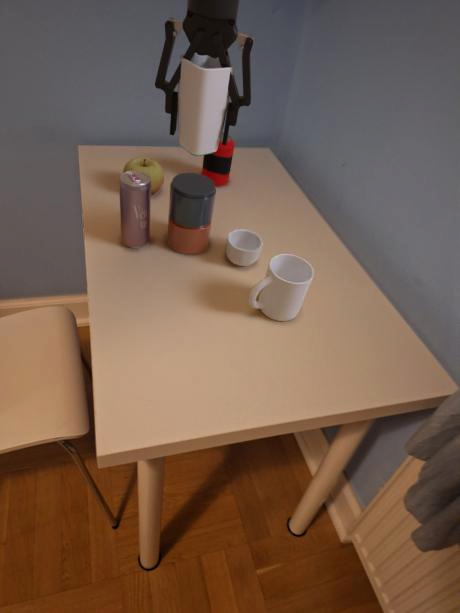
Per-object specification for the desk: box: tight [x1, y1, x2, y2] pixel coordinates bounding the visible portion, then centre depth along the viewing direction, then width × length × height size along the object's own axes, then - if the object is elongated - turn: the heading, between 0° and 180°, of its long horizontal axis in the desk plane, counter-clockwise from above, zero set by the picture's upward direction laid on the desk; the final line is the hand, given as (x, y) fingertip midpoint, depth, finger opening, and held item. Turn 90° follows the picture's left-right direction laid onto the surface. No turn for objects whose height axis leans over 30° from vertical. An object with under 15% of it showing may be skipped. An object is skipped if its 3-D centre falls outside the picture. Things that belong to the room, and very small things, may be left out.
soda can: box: [201, 132, 236, 187], centre depth 108 cm, size 8×8×12 cm
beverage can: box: [118, 171, 152, 249], centre depth 83 cm, size 6×6×15 cm
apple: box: [122, 157, 165, 195], centre depth 100 cm, size 10×10×8 cm
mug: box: [248, 253, 315, 322], centre depth 76 cm, size 12×8×10 cm
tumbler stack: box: [166, 172, 217, 256], centre depth 86 cm, size 9×9×14 cm
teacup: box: [225, 228, 264, 267], centre depth 88 cm, size 10×8×5 cm
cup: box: [177, 53, 235, 157], centre depth 70 cm, size 7×7×15 cm
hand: (198, 137), depth 74 cm, fingers closed on cup, 9 cm apart
